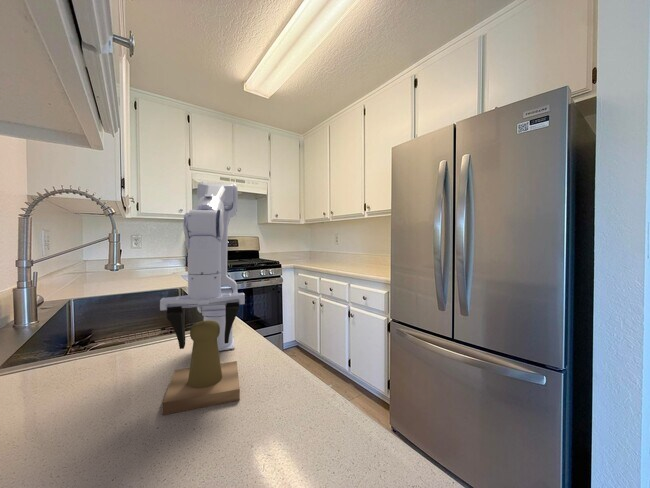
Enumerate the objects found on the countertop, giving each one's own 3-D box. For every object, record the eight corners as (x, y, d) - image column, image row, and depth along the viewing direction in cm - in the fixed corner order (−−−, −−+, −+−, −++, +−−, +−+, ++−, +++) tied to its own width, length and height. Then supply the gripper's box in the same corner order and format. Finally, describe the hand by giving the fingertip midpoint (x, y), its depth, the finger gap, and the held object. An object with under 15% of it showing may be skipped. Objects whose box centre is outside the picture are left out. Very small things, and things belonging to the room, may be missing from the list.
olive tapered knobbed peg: (212, 389, 48) (212, 327, 48) (180, 387, 49) (180, 326, 49) (228, 372, 54) (227, 317, 54) (199, 371, 55) (199, 317, 55)
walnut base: (175, 379, 56) (174, 370, 56) (236, 370, 60) (236, 361, 60) (162, 415, 44) (162, 402, 44) (239, 400, 49) (239, 388, 49)
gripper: (155, 277, 46) (156, 358, 46) (245, 273, 51) (246, 346, 51) (164, 272, 52) (164, 343, 52) (243, 270, 57) (243, 334, 57)
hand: (205, 344), depth 52 cm, fingers open, 7 cm apart
